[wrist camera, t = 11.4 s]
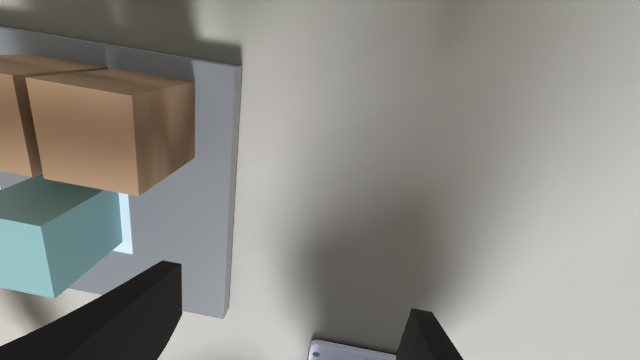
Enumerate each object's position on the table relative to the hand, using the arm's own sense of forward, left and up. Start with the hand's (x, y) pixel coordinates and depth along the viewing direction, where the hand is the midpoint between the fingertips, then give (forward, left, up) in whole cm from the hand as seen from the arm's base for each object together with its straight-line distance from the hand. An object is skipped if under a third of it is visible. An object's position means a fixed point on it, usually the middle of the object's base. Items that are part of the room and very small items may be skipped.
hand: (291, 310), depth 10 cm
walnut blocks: (+3, +11, -8) cm, 14 cm away
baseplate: (-2, +12, -9) cm, 15 cm away
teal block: (-3, +14, -8) cm, 16 cm away
